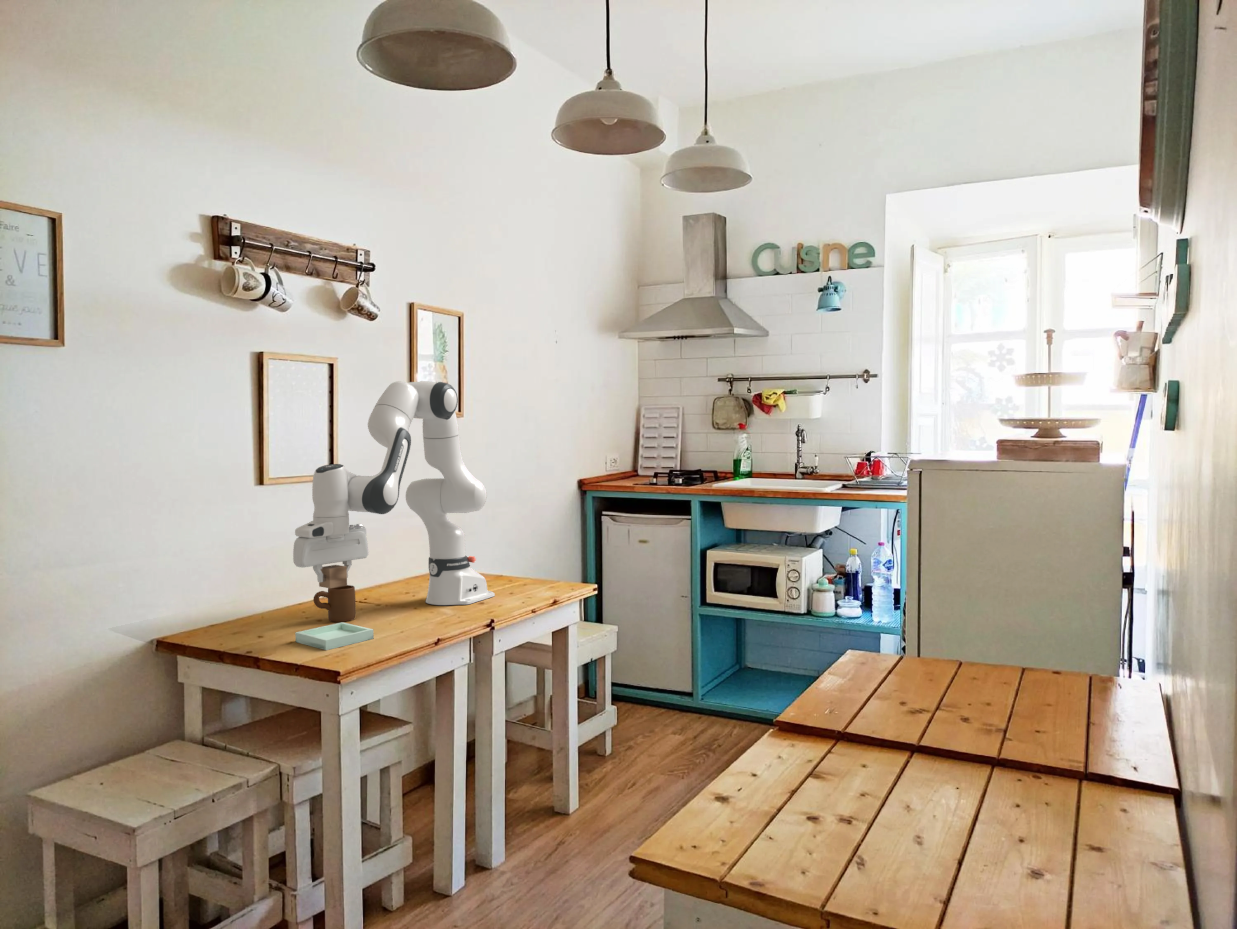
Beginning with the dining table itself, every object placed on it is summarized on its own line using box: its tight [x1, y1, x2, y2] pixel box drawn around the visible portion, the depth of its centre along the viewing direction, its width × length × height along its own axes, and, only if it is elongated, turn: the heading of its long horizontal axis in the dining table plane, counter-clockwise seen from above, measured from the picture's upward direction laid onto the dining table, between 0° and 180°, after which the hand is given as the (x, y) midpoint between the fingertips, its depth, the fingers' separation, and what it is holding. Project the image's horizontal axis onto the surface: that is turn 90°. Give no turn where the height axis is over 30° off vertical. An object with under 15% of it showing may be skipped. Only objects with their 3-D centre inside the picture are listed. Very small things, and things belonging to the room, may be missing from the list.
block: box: [318, 564, 348, 589], centre depth 223 cm, size 5×5×5 cm
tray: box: [294, 622, 375, 651], centre depth 224 cm, size 14×14×2 cm
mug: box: [313, 584, 357, 623], centre depth 246 cm, size 12×8×9 cm, turn 132°
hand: (332, 579), depth 223 cm, fingers closed on block, 5 cm apart
